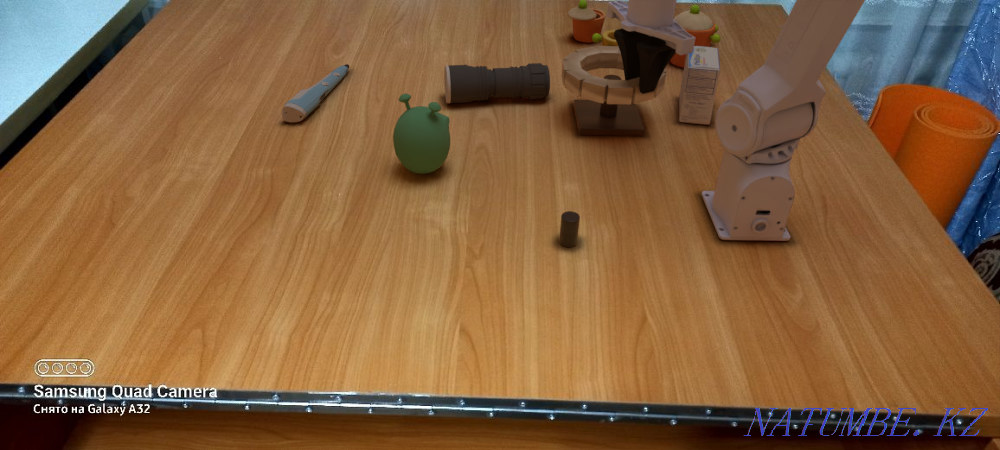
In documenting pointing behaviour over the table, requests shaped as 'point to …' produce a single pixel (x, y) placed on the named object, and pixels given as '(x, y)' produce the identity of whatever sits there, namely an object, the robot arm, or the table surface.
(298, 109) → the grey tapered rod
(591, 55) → the ring
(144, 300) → the table surface
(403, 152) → the alien toy
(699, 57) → the medicine box
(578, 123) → the stand
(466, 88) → the flashlight
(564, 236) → the low peg
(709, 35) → the toy tea set
